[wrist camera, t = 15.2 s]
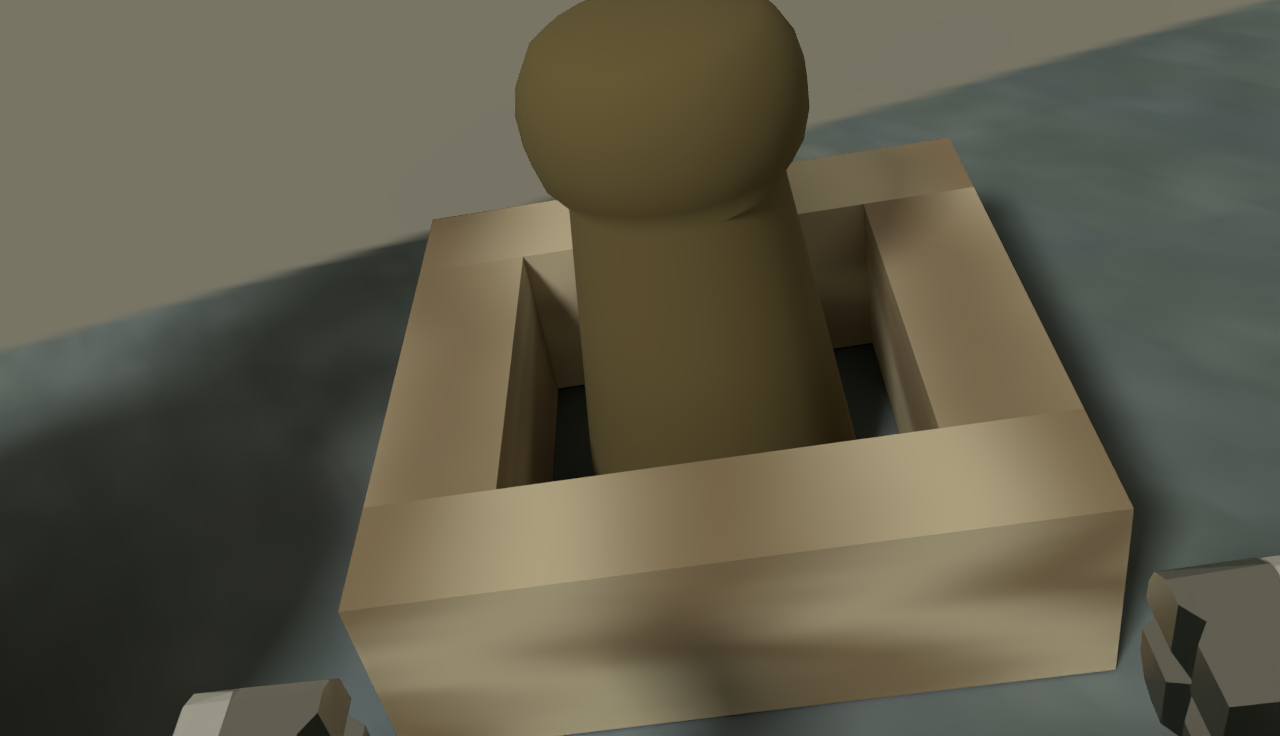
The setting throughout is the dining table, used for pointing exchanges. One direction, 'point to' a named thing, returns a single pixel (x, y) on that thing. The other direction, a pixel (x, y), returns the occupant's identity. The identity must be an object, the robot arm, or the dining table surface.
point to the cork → (684, 227)
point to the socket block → (735, 493)
